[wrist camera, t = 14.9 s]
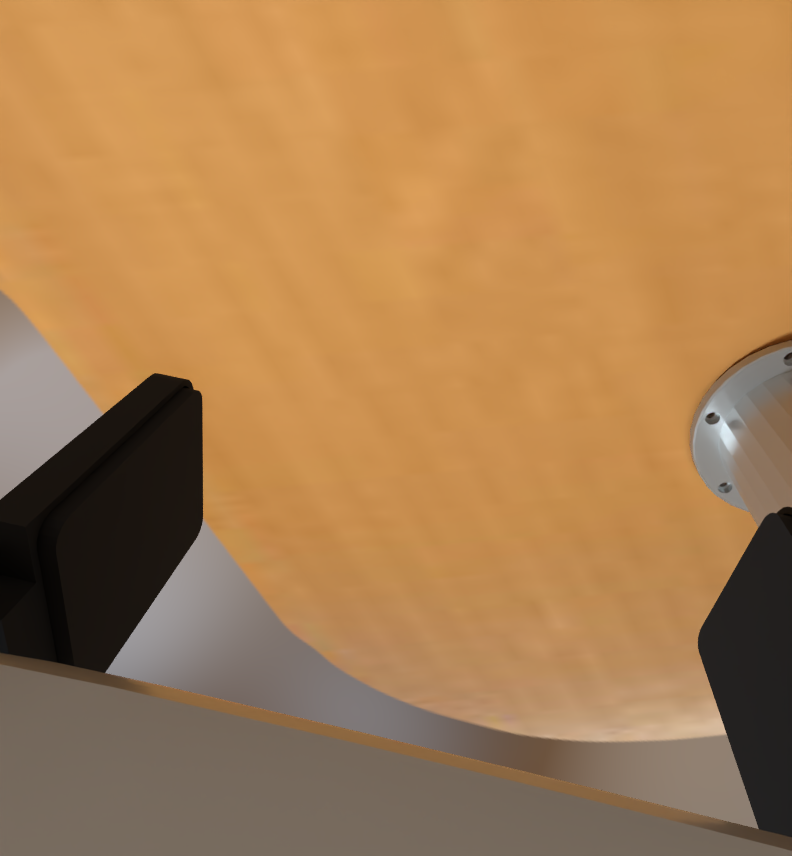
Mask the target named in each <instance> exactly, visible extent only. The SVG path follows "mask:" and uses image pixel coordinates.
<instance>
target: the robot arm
mask: <svg viewBox="0 0 792 856" xmlns="http://www.w3.org/2000/svg"><path fill="white" fill-rule="evenodd" d="M789 353H790V354H789ZM787 354H789V355H788V356H786V355H787ZM785 356H786V357H785ZM710 413H712V414H710ZM708 414H710V415H708ZM690 450H691V454H692V459H693V462H694V464H695V466H696V469H697V471H698V473H699V475H700V476H701V478H702V479H703V481H704V483H705V484H706V486H707V487H708V488H709V489H710V490H711V491H712V492H713V493H714V494H715V495H716V496H718V497H719V498H721V499H722V500H724V501H725V502H727V503H729V504H730V505H732V506H735V507H737V508H740V509H742V510H745V511H747V512H750V513H751V515H752V517H753V519H754V521H755V522H756V524H757V526H758V530H757V531H756V533H755V535H754V537H753V538H752V540H751V542H750V544H749V545H748V547H747V549H746V551H745V552H744V554H743V556H742V558H741V559H740V561H739V563H738V565H737V566H736V568H735V570H734V572H733V573H732V575H731V577H730V579H729V580H728V582H727V584H726V586H725V587H724V589H723V591H722V592H721V594H720V596H719V598H718V599H717V601H716V603H715V605H714V606H713V608H712V610H711V612H710V613H709V615H708V617H707V619H706V620H705V622H704V624H703V626H702V628H701V630H700V633H699V637H698V649H699V653H700V656H701V659H702V662H703V665H704V668H705V671H706V674H707V677H708V680H709V683H710V686H711V689H712V692H713V695H714V698H715V700H716V703H717V706H718V709H719V712H720V715H721V718H722V721H723V724H724V727H725V730H726V733H727V736H728V739H729V742H730V745H731V748H732V751H733V754H734V757H735V760H736V763H737V765H738V768H739V771H740V774H741V777H742V780H743V783H744V786H745V789H746V792H747V795H748V798H749V801H750V804H751V807H752V810H753V812H754V816H755V819H756V821H757V825H758V828H759V829H756V828H752V827H748V826H743V825H740V824H736V823H731V822H727V821H723V820H719V819H715V818H711V817H707V816H703V815H699V814H695V813H691V812H687V811H683V810H678V809H675V808H670V807H667V806H663V805H659V804H654V803H650V802H647V801H642V800H638V799H634V798H630V797H626V796H622V795H618V794H614V793H610V792H606V791H602V790H598V789H594V788H590V787H585V786H581V785H577V784H573V783H569V782H565V781H561V780H557V779H552V778H549V777H544V776H540V775H536V774H532V773H528V772H524V771H519V770H515V769H511V768H507V767H503V766H499V765H495V764H490V763H487V762H483V761H478V760H474V759H470V758H465V757H462V756H457V755H453V754H449V753H445V752H441V751H437V750H433V749H429V748H424V747H420V746H416V745H412V744H408V743H403V742H399V741H395V740H391V739H387V738H383V737H379V736H374V735H370V734H366V733H362V732H358V731H353V730H349V729H345V728H341V727H337V726H332V725H328V724H323V723H320V722H315V721H311V720H307V719H303V718H298V717H294V716H290V715H286V714H281V713H277V712H273V711H269V710H264V709H260V708H256V707H251V706H247V705H243V704H239V703H235V702H230V701H226V700H222V699H218V698H214V697H209V696H205V695H201V694H197V693H192V692H188V691H183V690H180V689H175V688H171V687H166V686H162V685H157V684H152V683H148V682H143V681H139V680H134V679H130V678H125V677H120V676H116V675H111V674H107V673H105V672H106V670H107V669H108V668H109V666H110V665H111V663H112V662H113V660H114V658H115V657H116V656H117V654H118V653H119V651H120V649H121V648H122V647H123V645H124V644H125V642H126V641H127V640H128V638H129V637H130V635H131V634H132V632H133V631H134V629H135V628H136V626H137V625H138V623H139V622H140V620H141V619H142V618H143V616H144V614H145V613H146V612H147V610H148V609H149V607H150V606H151V604H152V603H153V601H154V600H155V598H156V597H157V595H158V594H159V593H160V591H161V589H162V588H163V587H164V585H165V584H166V582H167V581H168V579H169V578H170V576H171V575H172V573H173V572H174V570H175V569H176V567H177V566H178V565H179V563H180V562H181V560H182V559H183V557H184V556H185V554H186V553H187V551H188V550H189V548H190V547H191V545H192V544H193V542H194V541H195V540H196V538H197V536H198V534H199V532H200V529H201V526H202V521H203V437H202V395H201V393H200V391H197V390H193V386H192V383H191V382H190V381H189V380H187V379H182V378H177V377H172V376H168V375H163V374H158V373H154V374H153V375H151V376H150V377H148V378H147V379H146V380H145V381H144V382H142V383H141V384H140V385H139V386H137V387H136V388H135V389H134V390H133V391H131V392H130V393H129V394H128V395H127V396H125V397H124V398H123V399H122V400H120V401H119V402H118V403H117V404H116V405H114V406H113V407H112V408H111V409H110V410H108V411H107V412H106V413H105V414H104V415H102V416H101V417H100V418H99V419H97V420H96V421H95V422H94V423H93V424H91V425H90V426H89V427H88V428H87V429H86V430H84V431H83V432H82V433H81V434H79V435H78V436H77V437H76V438H74V439H73V440H72V441H71V442H70V443H69V444H67V445H66V446H65V447H64V448H62V449H61V450H60V451H59V452H58V453H57V454H55V455H54V456H53V457H51V458H50V459H49V460H48V461H47V462H45V463H44V464H43V465H42V466H41V467H39V468H38V469H37V470H36V471H34V472H33V473H32V474H31V475H30V476H29V477H27V478H26V479H25V480H24V481H23V482H21V483H20V484H19V485H18V486H16V487H15V488H14V489H13V490H12V491H10V492H9V493H8V494H7V495H5V496H4V497H3V498H2V499H1V500H0V856H792V340H789V341H786V342H783V343H779V344H776V345H773V346H769V347H767V348H765V349H763V350H760V351H758V352H756V353H754V354H752V355H750V356H748V357H746V358H745V359H743V360H742V361H740V362H739V363H737V364H736V365H734V366H733V367H731V368H730V369H729V370H728V371H726V372H725V373H724V374H723V375H722V376H721V377H720V378H719V379H718V380H717V381H716V382H715V383H714V384H713V385H712V386H711V388H710V389H709V390H708V392H707V393H706V394H705V395H704V397H703V398H702V400H701V402H700V404H699V406H698V408H697V410H696V412H695V414H694V418H693V422H692V425H691V429H690Z"/></svg>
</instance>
